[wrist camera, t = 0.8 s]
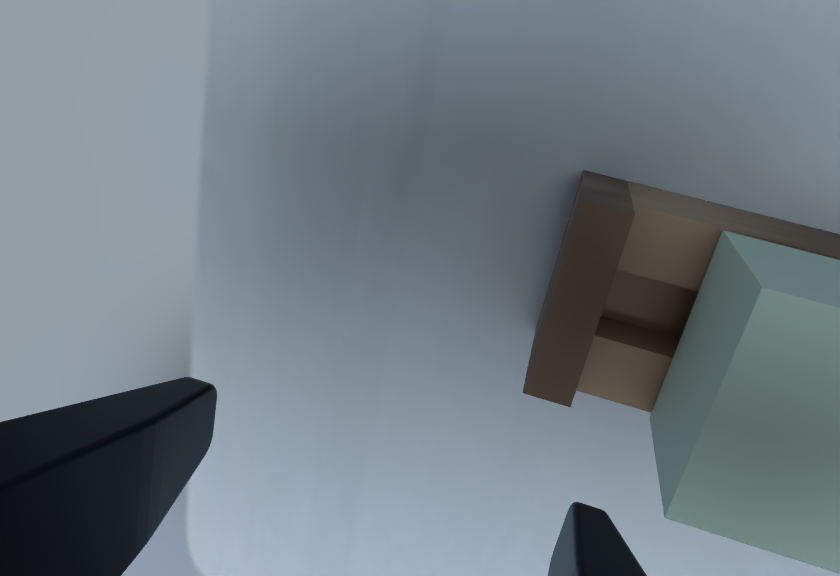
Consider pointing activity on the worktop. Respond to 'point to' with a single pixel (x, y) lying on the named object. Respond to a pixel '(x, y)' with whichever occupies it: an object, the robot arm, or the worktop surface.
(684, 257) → the rail
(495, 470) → the worktop surface
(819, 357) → the block
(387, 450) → the worktop surface
